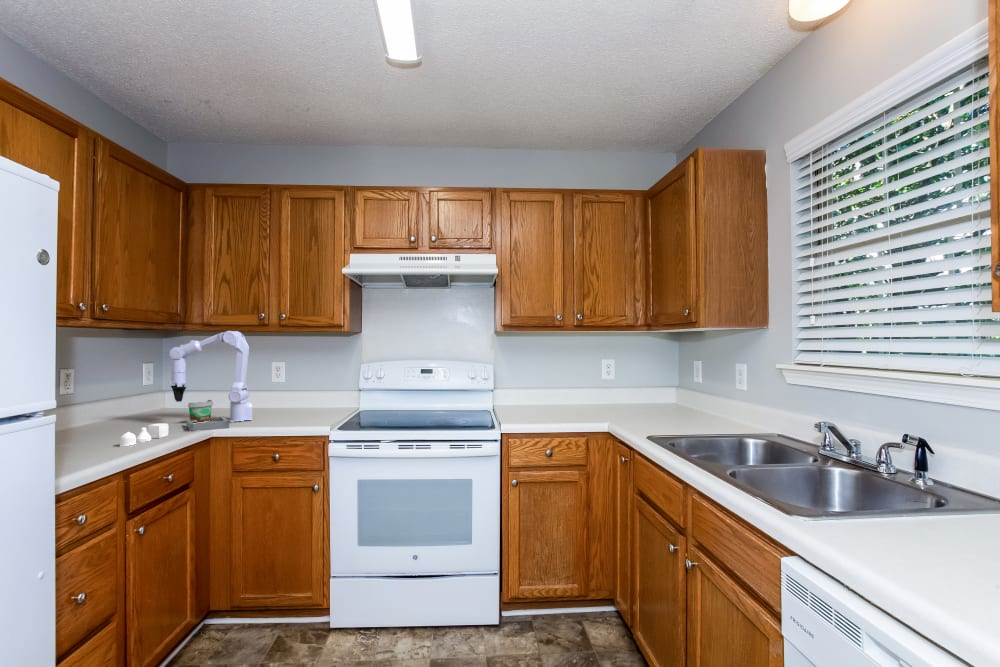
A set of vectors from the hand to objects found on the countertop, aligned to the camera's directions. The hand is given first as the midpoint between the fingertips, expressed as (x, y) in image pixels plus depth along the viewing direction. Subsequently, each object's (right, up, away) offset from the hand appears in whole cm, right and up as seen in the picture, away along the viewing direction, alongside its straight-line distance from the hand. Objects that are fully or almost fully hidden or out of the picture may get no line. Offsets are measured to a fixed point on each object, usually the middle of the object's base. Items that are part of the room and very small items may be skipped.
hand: (178, 400), depth 229 cm
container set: (+14, -11, -42) cm, 45 cm away
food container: (+12, -11, +1) cm, 16 cm away
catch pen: (+21, -10, -11) cm, 26 cm away
